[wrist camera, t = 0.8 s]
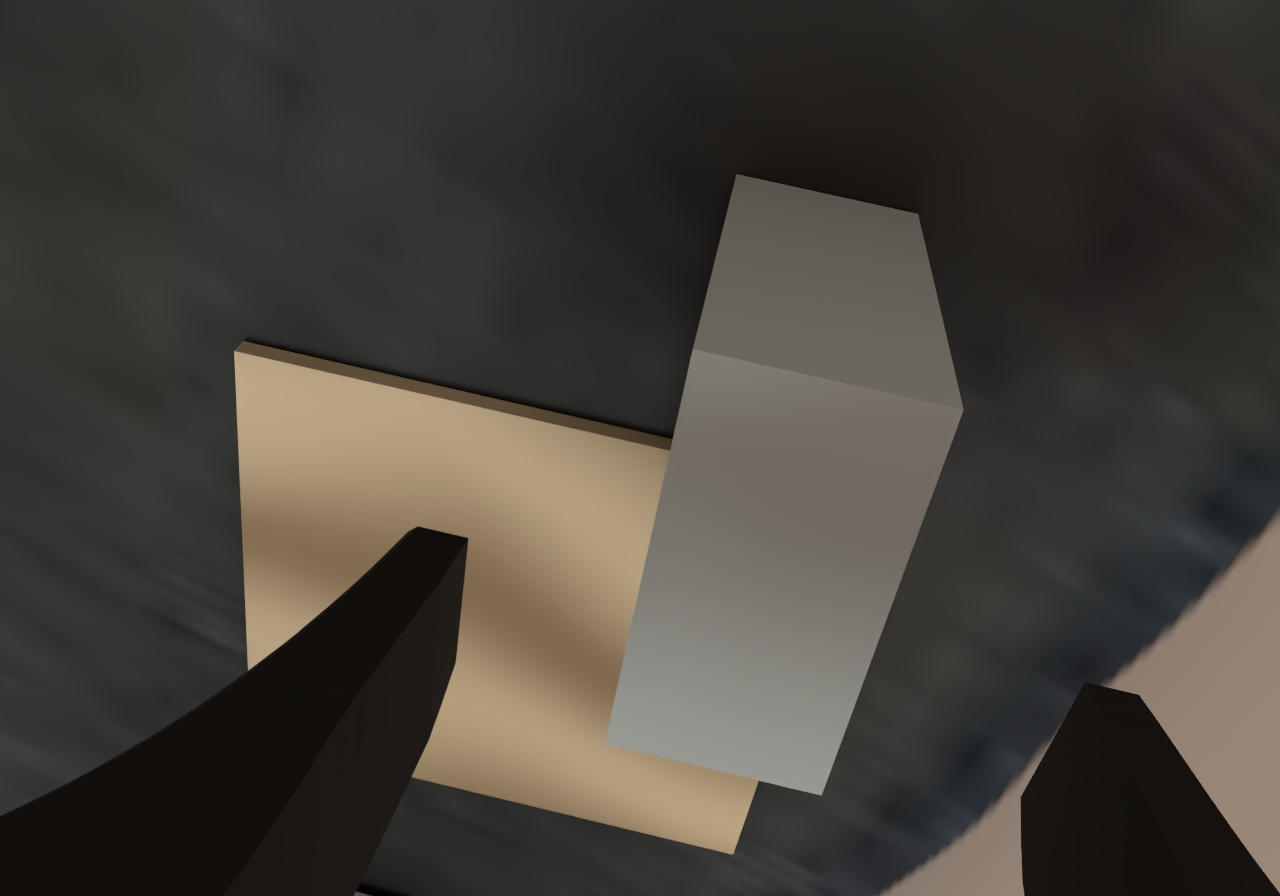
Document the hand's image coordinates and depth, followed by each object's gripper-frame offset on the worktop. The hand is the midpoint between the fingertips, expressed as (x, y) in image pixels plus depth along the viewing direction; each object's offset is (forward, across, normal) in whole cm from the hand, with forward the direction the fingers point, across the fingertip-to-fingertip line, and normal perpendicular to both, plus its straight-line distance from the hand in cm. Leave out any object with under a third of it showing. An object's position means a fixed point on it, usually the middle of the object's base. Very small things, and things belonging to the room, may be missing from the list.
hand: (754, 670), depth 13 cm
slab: (+8, 0, 0) cm, 8 cm away
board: (+8, +4, +8) cm, 12 cm away
